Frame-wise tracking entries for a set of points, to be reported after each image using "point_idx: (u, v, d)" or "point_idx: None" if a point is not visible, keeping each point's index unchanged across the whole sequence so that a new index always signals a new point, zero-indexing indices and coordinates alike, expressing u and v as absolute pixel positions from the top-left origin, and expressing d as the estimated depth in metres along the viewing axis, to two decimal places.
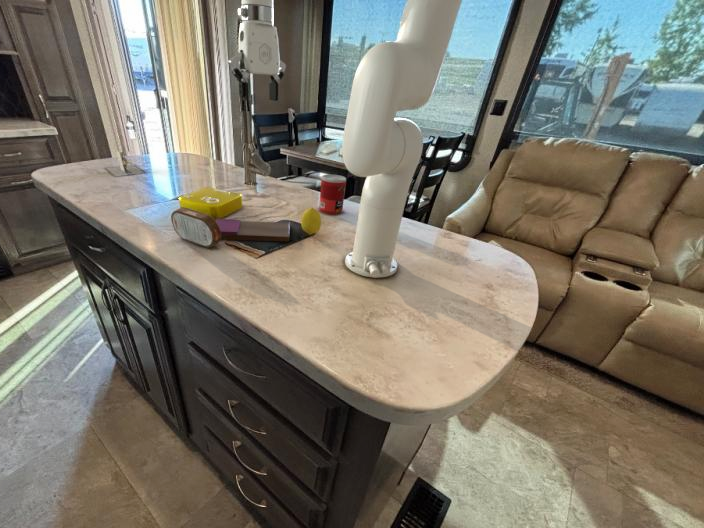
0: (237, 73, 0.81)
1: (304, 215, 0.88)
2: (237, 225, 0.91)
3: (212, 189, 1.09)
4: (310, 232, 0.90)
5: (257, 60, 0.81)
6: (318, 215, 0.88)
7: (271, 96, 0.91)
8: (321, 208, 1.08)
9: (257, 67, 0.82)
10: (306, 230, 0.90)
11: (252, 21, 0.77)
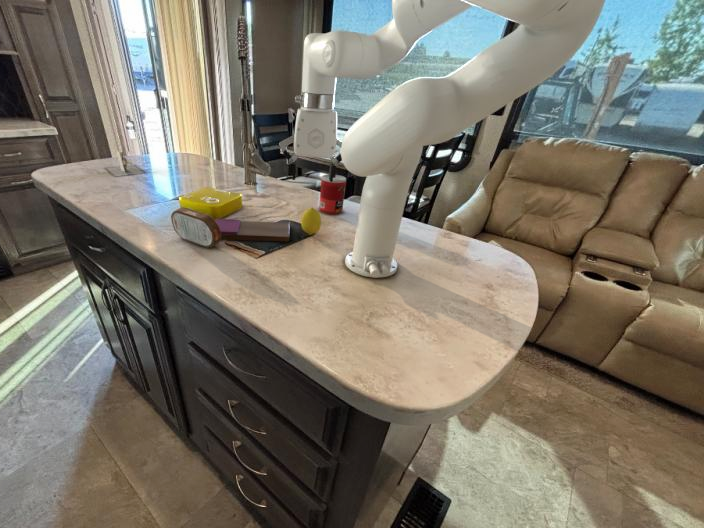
0: (285, 155, 0.80)
1: (304, 215, 0.88)
2: (237, 225, 0.91)
3: (212, 189, 1.09)
4: (310, 232, 0.90)
5: (305, 144, 0.77)
6: (318, 215, 0.88)
7: (329, 176, 0.85)
8: (321, 208, 1.08)
9: (305, 151, 0.78)
10: (306, 230, 0.90)
11: (304, 108, 0.74)
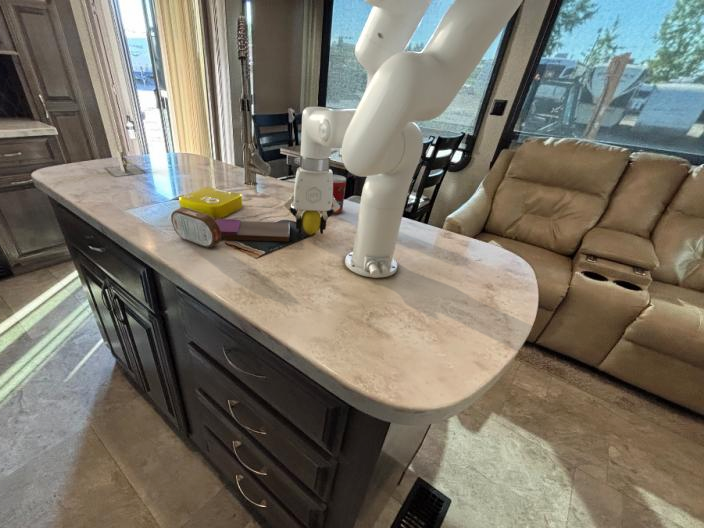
0: (292, 212, 0.88)
1: (304, 215, 0.88)
2: (237, 225, 0.91)
3: (212, 189, 1.09)
4: (310, 232, 0.90)
5: (304, 200, 0.84)
6: (318, 215, 0.88)
7: (320, 228, 0.92)
8: None
9: (303, 205, 0.85)
10: (306, 230, 0.90)
11: (302, 170, 0.81)
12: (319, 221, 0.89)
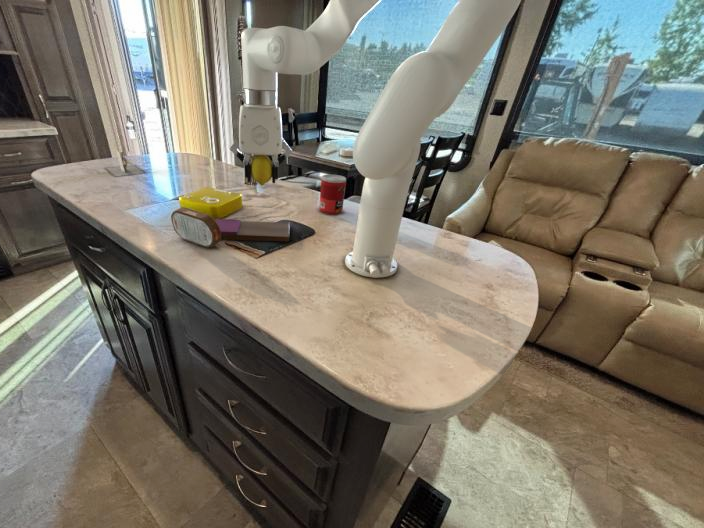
0: (239, 157, 0.80)
1: (253, 161, 0.80)
2: (237, 225, 0.91)
3: (212, 189, 1.09)
4: (260, 181, 0.82)
5: (250, 141, 0.76)
6: (268, 161, 0.80)
7: None
8: (321, 208, 1.08)
9: (250, 148, 0.77)
10: (256, 178, 0.82)
11: (245, 104, 0.72)
12: (270, 168, 0.81)
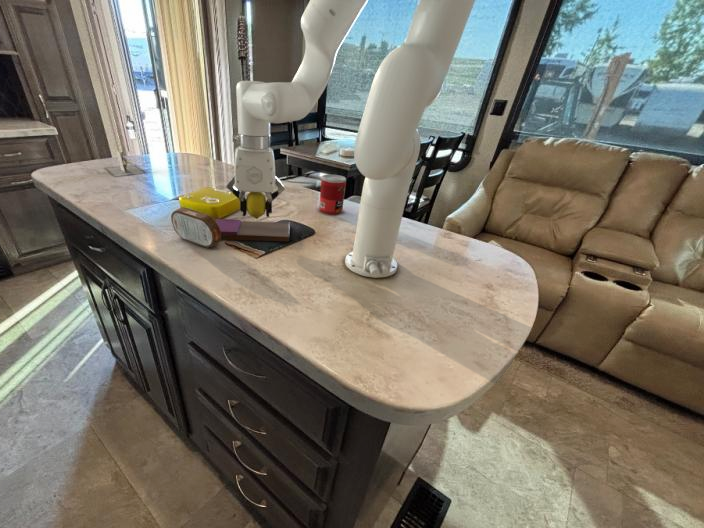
0: (234, 193, 0.85)
1: (247, 197, 0.85)
2: (237, 225, 0.91)
3: (212, 189, 1.09)
4: (255, 215, 0.87)
5: (245, 181, 0.81)
6: (262, 197, 0.85)
7: None
8: (321, 208, 1.08)
9: (245, 186, 0.82)
10: (251, 213, 0.87)
11: (240, 148, 0.77)
12: (264, 203, 0.86)
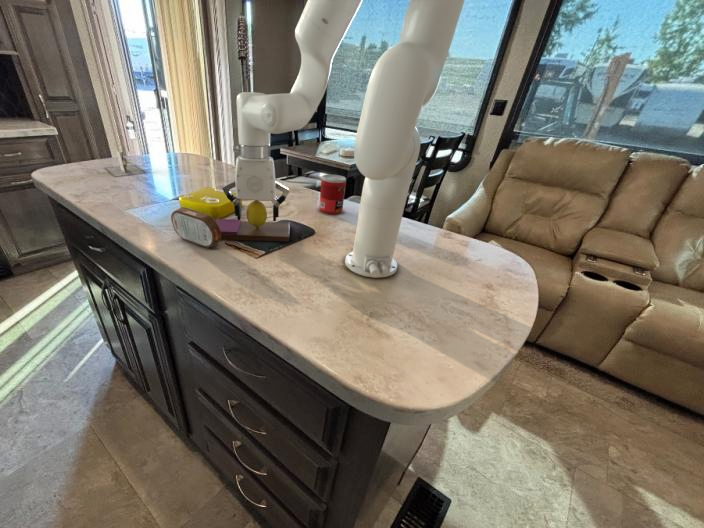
0: (228, 198, 0.85)
1: (248, 207, 0.87)
2: (237, 225, 0.91)
3: (212, 189, 1.09)
4: (255, 225, 0.89)
5: (245, 189, 0.82)
6: (262, 207, 0.87)
7: None
8: (321, 208, 1.08)
9: (245, 195, 0.83)
10: (251, 223, 0.88)
11: (241, 158, 0.79)
12: (264, 213, 0.87)
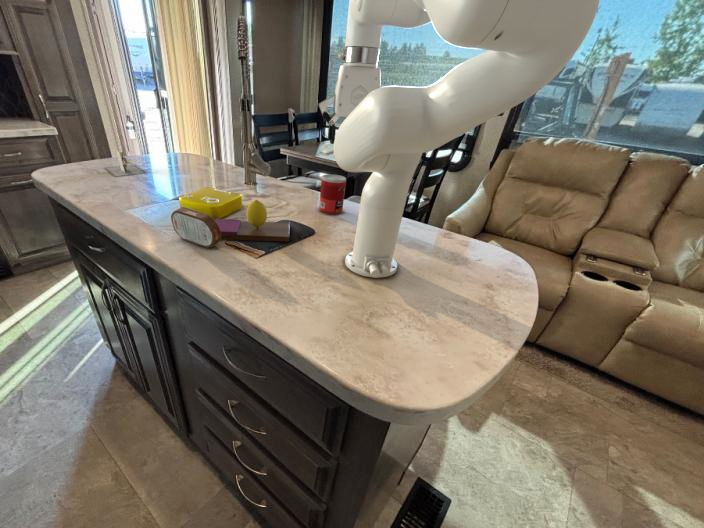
0: (325, 116, 0.77)
1: (248, 207, 0.87)
2: (237, 225, 0.91)
3: (212, 189, 1.09)
4: (255, 225, 0.89)
5: (348, 103, 0.74)
6: (262, 207, 0.87)
7: None
8: (321, 208, 1.08)
9: (347, 111, 0.75)
10: (251, 223, 0.88)
11: (348, 64, 0.70)
12: (264, 213, 0.87)
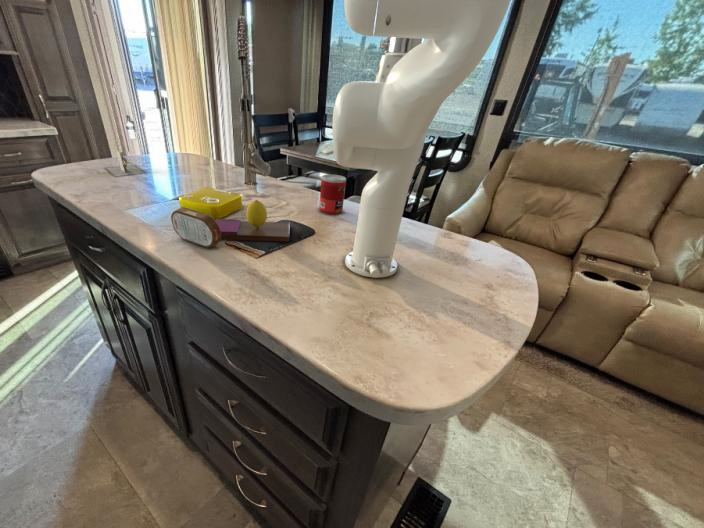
0: None
1: (248, 207, 0.87)
2: (237, 225, 0.91)
3: (212, 189, 1.09)
4: (255, 225, 0.89)
5: None
6: (262, 207, 0.87)
7: None
8: (321, 208, 1.08)
9: None
10: (251, 223, 0.88)
11: (391, 53, 0.70)
12: (264, 213, 0.87)
